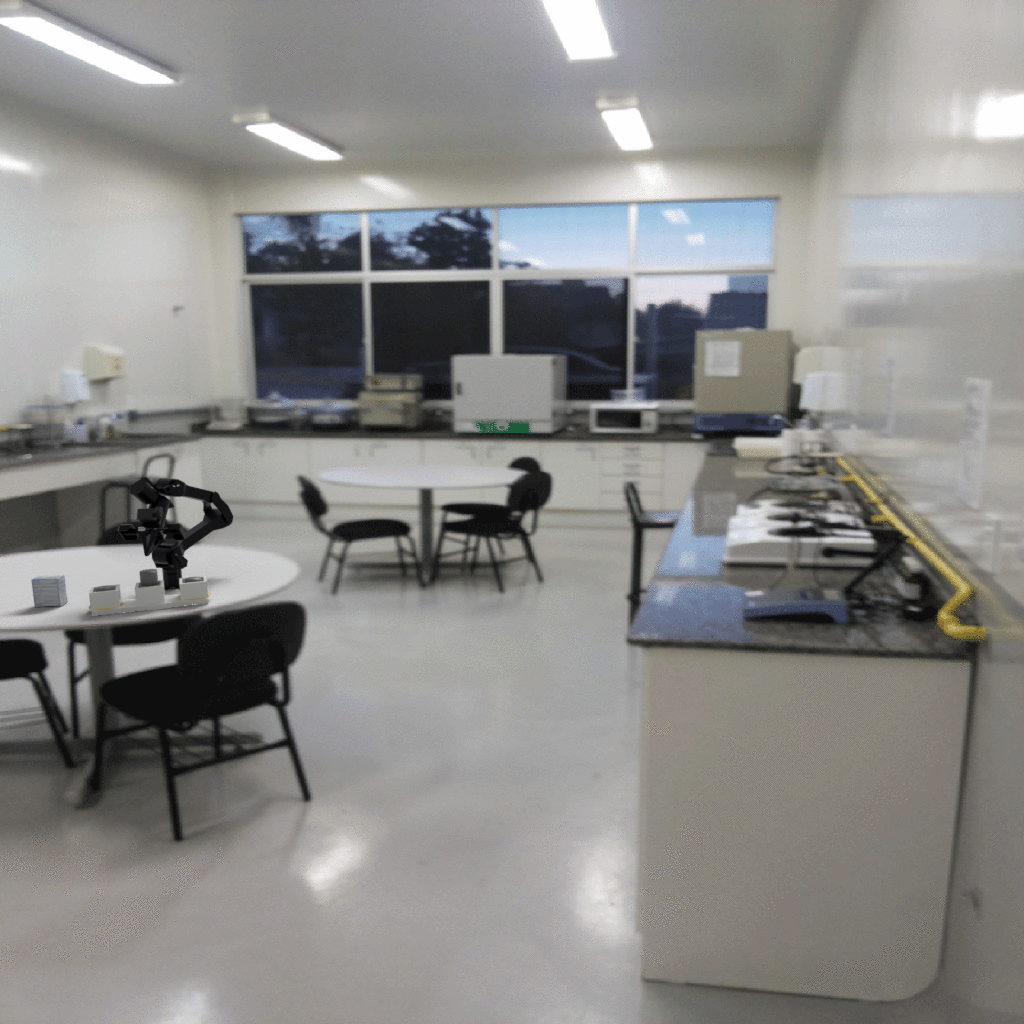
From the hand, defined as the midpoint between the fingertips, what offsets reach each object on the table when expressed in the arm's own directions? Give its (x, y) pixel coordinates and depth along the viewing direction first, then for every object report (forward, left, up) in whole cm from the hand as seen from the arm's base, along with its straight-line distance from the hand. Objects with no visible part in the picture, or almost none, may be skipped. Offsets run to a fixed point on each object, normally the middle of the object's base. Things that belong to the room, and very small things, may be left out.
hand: (146, 555), depth 264 cm
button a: (+8, +12, -11) cm, 18 cm away
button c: (+8, -12, -11) cm, 17 cm away
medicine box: (-6, -28, -14) cm, 31 cm away
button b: (+8, 0, -7) cm, 10 cm away
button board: (+8, 0, -14) cm, 16 cm away
